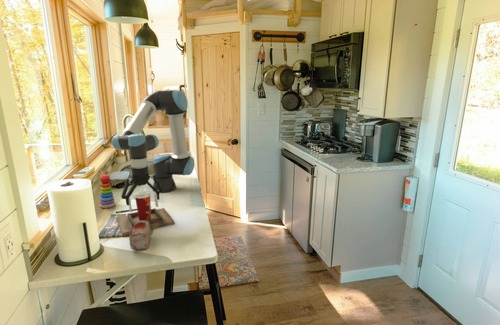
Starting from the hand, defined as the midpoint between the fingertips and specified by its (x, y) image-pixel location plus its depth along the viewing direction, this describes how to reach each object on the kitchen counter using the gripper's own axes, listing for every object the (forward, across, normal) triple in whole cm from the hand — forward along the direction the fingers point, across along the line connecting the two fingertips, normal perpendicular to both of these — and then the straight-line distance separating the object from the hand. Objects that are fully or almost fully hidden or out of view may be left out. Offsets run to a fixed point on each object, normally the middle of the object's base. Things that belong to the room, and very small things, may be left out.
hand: (143, 208), depth 149 cm
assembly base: (+7, 0, 0) cm, 7 cm away
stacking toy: (+8, +14, -34) cm, 38 cm away
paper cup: (+6, 0, 0) cm, 6 cm away
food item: (+8, +6, +22) cm, 24 cm away
